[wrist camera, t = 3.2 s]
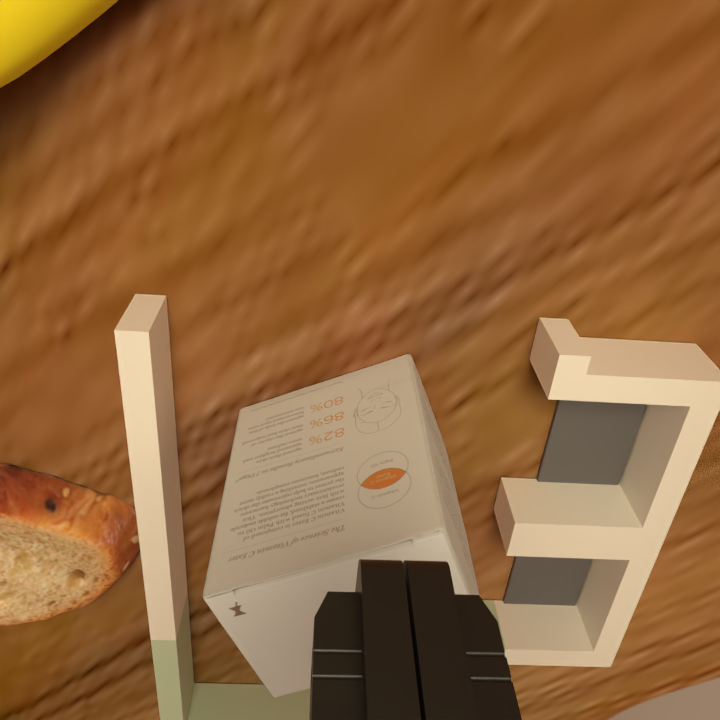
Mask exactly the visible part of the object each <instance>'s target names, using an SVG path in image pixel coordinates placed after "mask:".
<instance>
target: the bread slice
mask: <svg viewBox="0 0 720 720" xmlns="http://www.w3.org/2000/svg"><path fill="white" fill-rule="evenodd" d="M139 551H140V544H139V535H138V527H137V518H136V511H135V509H134V508H133V507H131V506H130V505H129V504H127V503H125V502H123V501H122V500H120V499H118V498H116V497H114V496H111V495H106V494H102V493H99V492H96V491H94V490H92V489H90V488H88V487H85V486H82V485H78V484H75V483H72V482H69V481H66V480H64V479H61V478H59V477H56V476H54V475H51V474H46V473H40V472H35V471H31V470H28V469H25V468H22V467H19V466H16V465H13V464H8V463H0V625H15V624H21V623H27V622H33V621H39V620H45V619H49V618H51V617H54V616H56V615H59V614H62V613H64V612H67V611H70V610H73V609H76V608H79V607H83V606H86V605H88V604H90V603H92V602H93V601H94V600H96V599H97V598H98V597H100V596H101V595H102V594H103V593H105V592H106V591H107V590H108V589H109V588H110V587H111V586H112V585H113V584H114V583H115V582H116V581H117V580H118V579H119V578H120V577H121V576H122V575H123V574H124V572H125V571H126V570H127V569H128V568H129V566H130V565H131V564H132V563H133V561H134V560H135V559H136V557H137V555H138V553H139Z"/></svg>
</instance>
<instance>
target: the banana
mask: <svg viewBox="0 0 720 720" xmlns="http://www.w3.org/2000/svg"><path fill="white" fill-rule="evenodd" d="M117 1H118V0H0V88H1V87H3V86H4V85H6V84H8V83H10V82H11V81H13V80H15V79H17V78H18V77H20V76H21V75H23V74H24V73H25V72H27V71H28V70H30V69H31V68H32V67H34V66H35V65H37V64H38V63H39V62H41V61H42V60H44V59H45V58H46V57H48V56H49V55H50V54H52V53H53V52H54V51H56V50H57V49H58V48H60V47H61V46H62V45H64V44H65V43H66V42H68V41H69V40H70V39H71V38H73V37H74V36H75V35H77V34H78V33H79V32H80V31H82V30H83V29H84V28H85V27H87V26H88V25H89V24H90V23H92V22H93V21H94V20H95V19H97V18H98V17H99V16H100V15H101V14H103V13H104V12H105V11H106V10H108V9H109V8H110V7H111V6H112V5H113V4H115V3H116V2H117Z"/></svg>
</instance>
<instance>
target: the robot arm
mask: <svg viewBox="0 0 720 720" xmlns="http://www.w3.org/2000/svg"><path fill="white" fill-rule="evenodd" d="M309 720H522V719H521V715H520V710H519V706H518V702H517V698H516V694H515V690H514V686H513V683H511V674H510V670H509V666H508V662H507V658H506V657H505V650H504V646H503V642H502V638H501V634H500V629H499V625H498V621H497V620H496V618H495V617H494V616H493V614H492V613H491V611H490V610H489V609H488V607H487V606H486V604H485V603H484V602H483V600H482V599H481V597H480V596H479V595H460V594H455V592H454V587H453V582H452V576H451V571H450V567H449V564H448V562H446V561H415V560H404V562H403V563H402V560H372V559H359V562H358V569H357V579H356V588H355V592H332V591H328V592H327V594H326V596H325V598H324V600H323V602H322V603H321V605H320V607H319V609H318V611H317V613H316V615H315V617H314V631H313V647H312V663H311V682H310V714H309Z"/></svg>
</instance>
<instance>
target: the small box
mask: <svg viewBox="0 0 720 720" xmlns="http://www.w3.org/2000/svg"><path fill="white" fill-rule="evenodd" d="M359 559H372V560H402V563H403V562H404V560H415V561H446V562H448V564H449V567H450V571H451V576H452V582H453V587H454V592H455V594H460V595H479V590H478V586H477V582H476V577H475V573H474V568H473V564H472V560H471V555H470V551H469V546H468V541H467V536H466V531H465V527H464V523H463V520H462V516H461V511H460V507H459V503H458V498H457V494H456V489H455V484H454V480H453V476H452V472H451V468H450V463H449V459H448V455H447V451H446V447H445V444H444V441H443V439H442V436H441V433H440V430H439V427H438V425H437V422H436V419H435V417H434V414H433V411H432V408H431V406H430V403H429V400H428V398H427V395H426V392H425V390H424V387H423V384H422V382H421V379H420V376H419V374H418V371H417V369H416V366H415V364H414V361H413V358H412V356H411V355H410V354H405V355H403V356H400V357H397V358H394V359H391V360H388V361H385V362H382V363H379V364H376V365H373V366H370V367H367V368H364V369H360V370H357V371H354V372H351V373H348V374H345V375H342V376H339V377H336V378H333V379H330V380H327V381H324V382H321V383H318V384H314V385H311V386H308V387H305V388H302V389H299V390H296V391H293V392H290V393H287V394H284V395H281V396H278V397H275V398H272V399H269V400H266V401H263V402H260V403H257V404H254V405H251V406H247V407H244V408H242V409H241V410H240V411H239V415H238V420H237V426H236V431H235V436H234V441H233V447H232V451H231V457H230V461H229V467H228V472H227V477H226V482H225V487H224V492H223V497H222V501H221V507H220V512H219V517H218V521H217V526H216V530H215V536H214V541H213V545H212V550H211V556H210V561H209V566H208V571H207V576H206V581H205V586H204V591H203V599H204V600H205V602H206V603H207V605H208V606H209V607H210V609H211V610H212V612H213V613H214V615H215V616H216V617H217V619H218V621H219V622H220V623H221V625H222V626H223V627H224V629H225V630H226V632H227V633H228V635H229V636H230V637H231V639H232V640H233V642H234V643H235V644H236V646H237V647H238V649H239V650H240V651H241V653H242V654H243V656H244V657H245V658H246V660H247V661H248V663H249V664H250V665H251V667H252V668H253V670H254V671H255V673H256V674H257V675H258V677H259V678H260V680H261V681H262V682H263V684H264V685H265V686H266V688H267V689H268V690H269V691H270V693H271V695H272V696H273V697H275V698H276V697H279V696H282V695H286V694H290V693H294V692H298V691H302V690H305V689H309V688H310V682H311V663H312V647H313V631H314V617H315V615H316V613H317V611H318V609H319V607H320V605H321V603H322V602H323V600H324V598H325V596H326V594H327V592H328V591H332V592H355V588H356V579H357V569H358V562H359ZM479 596H480V595H479Z"/></svg>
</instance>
